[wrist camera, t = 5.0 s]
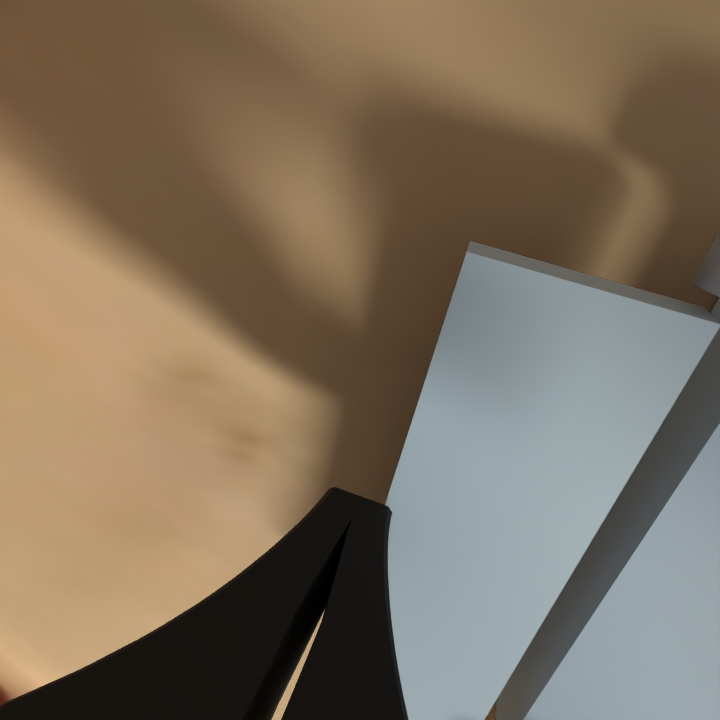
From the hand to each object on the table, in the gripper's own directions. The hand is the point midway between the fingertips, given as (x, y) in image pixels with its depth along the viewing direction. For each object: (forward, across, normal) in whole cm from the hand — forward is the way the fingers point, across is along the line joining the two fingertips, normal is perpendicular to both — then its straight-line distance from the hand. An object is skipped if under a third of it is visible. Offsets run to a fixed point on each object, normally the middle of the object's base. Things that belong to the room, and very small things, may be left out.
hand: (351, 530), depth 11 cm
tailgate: (+1, -4, 0) cm, 5 cm away
